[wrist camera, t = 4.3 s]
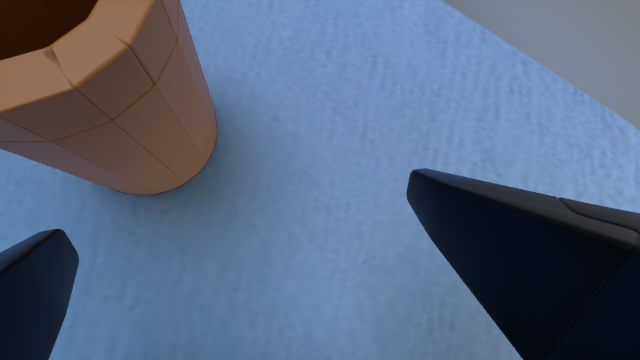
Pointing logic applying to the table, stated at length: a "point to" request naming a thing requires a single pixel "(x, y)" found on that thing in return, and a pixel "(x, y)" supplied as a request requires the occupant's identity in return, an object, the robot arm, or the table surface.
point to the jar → (105, 91)
